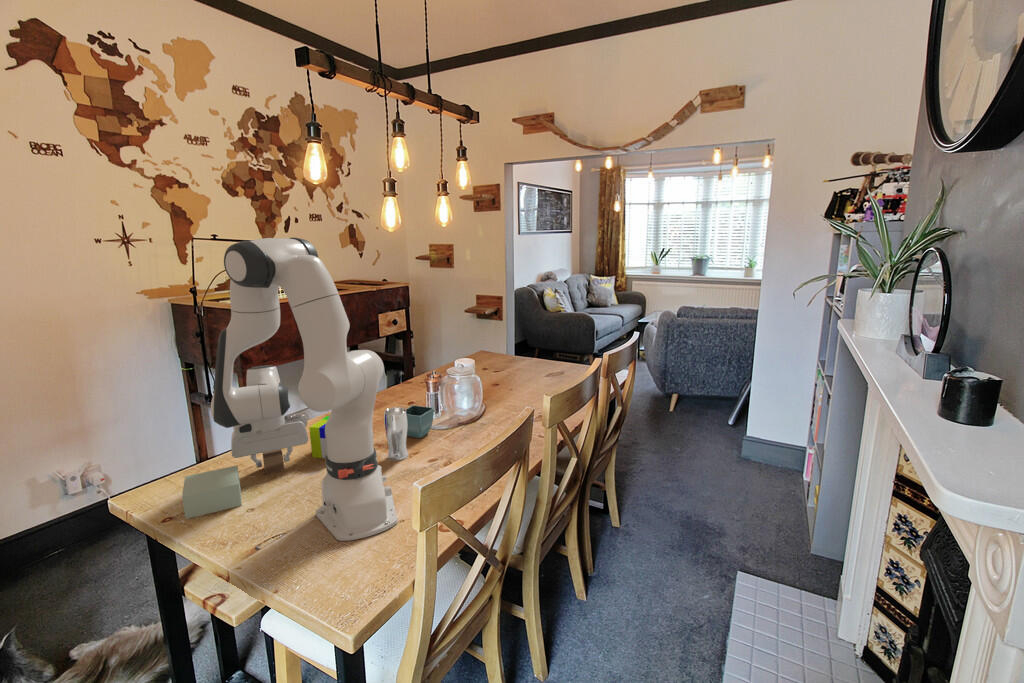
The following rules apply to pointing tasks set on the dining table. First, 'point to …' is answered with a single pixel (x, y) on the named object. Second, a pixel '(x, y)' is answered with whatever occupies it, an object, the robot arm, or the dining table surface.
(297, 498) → the dining table surface
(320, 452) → the puzzle toy
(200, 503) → the block
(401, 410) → the beer glass
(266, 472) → the walnut cube
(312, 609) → the dining table surface
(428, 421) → the flower pot
